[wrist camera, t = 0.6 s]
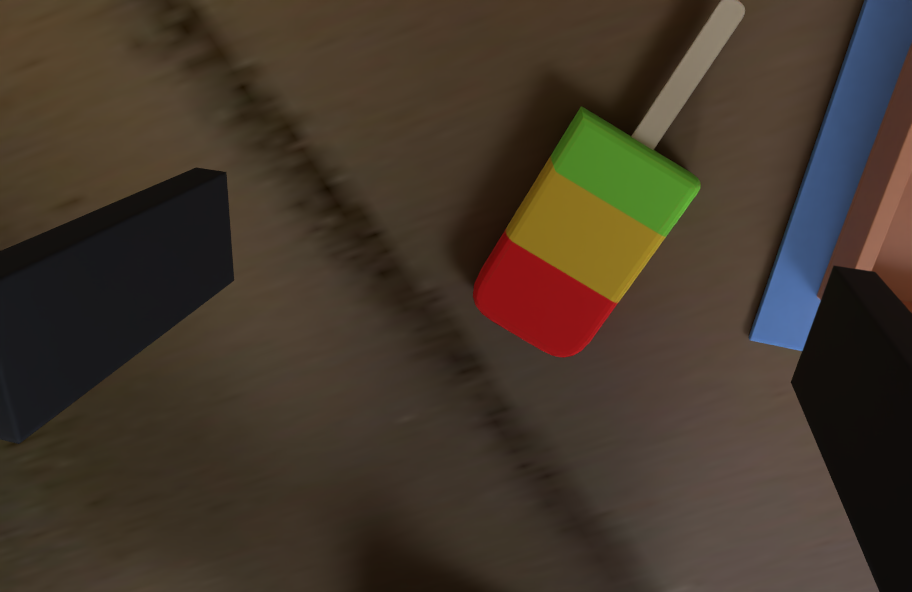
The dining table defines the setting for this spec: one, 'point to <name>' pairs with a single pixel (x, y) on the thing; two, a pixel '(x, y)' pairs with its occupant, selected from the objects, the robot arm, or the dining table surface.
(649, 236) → the popsicle
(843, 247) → the tray
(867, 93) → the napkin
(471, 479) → the dining table surface
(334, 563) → the dining table surface
